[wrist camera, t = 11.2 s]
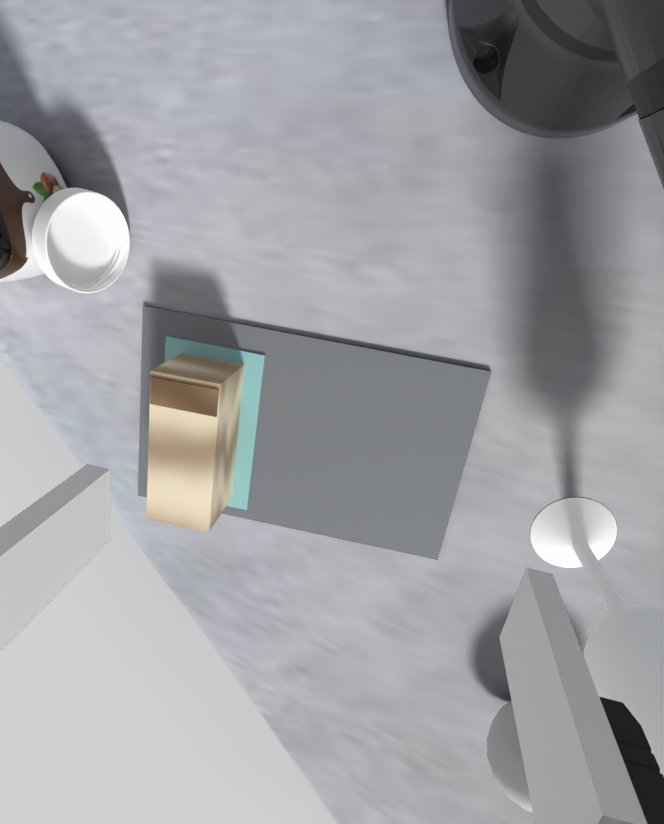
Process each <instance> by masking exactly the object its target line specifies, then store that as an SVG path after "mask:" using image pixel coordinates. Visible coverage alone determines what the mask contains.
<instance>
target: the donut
mask: <svg viewBox="0 0 664 824" xmlns="http://www.w3.org/2000/svg"><path fill="white" fill-rule="evenodd" d="M487 757H488V760H489V763H490V766H491V769H492V772H493V775H494V778H495V779H496V781H497V782H498V784H499V785H500V786H501V788H502V789H503V791H504V792H505V793H506V795H507V796H508V797H509V798H510V799H512V800H513V801H514V802H516V803H517V804H518V805H520V806H521V807H522V808H524V809H525V810H527V811H530V812H533V810H532V805H531V800H530V795H529V789H528V784H527V779H526V774H525V769H524V763H523V758H522V753H521V748H520V743H519V737H518V732H517V727H516V722H515V717H514V711H513V706H512V701H510V702H508V703H507V704H506V705H505V706H503V707H502V708H501V709H500V711H499V712H498V713H497V715H496V716H495V718H494V719H493V721H492V724H491V727H490V730H489V734H488V737H487Z"/></svg>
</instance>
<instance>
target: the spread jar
mask: <svg viewBox="0 0 664 824" xmlns="http://www.w3.org/2000/svg"><path fill="white" fill-rule="evenodd" d="M129 250H130V234H129V229H128V225H127V222H126V220H125V217H124V215H123V213H122V212H121V210H120V209H119V207H118V206H117V205H116V204H115V203H114V202H113V201H112V200H110V199H109V198H108V197H106V196H104V195H102V194H100V193H97V192H93V191H90V190H86V189H82V188H71V187H70V185H69V183H68V181H67V179H66V177H65V175H64V174H63V172H62V170H61V169H60V168H59V166H58V165H57V163H56V162H55V160H54V159H53V158H52V156H51V155H50V154H49V152H48V151H47V150H46V149H45V148H44V147H43V146H42V145H41V144H40V143H39V142H38V141H37V140H36V139H35V138H34V137H33V136H32V135H30V134H29V133H27V132H26V131H24V130H23V129H21V128H19V127H17V126H15V125H12V124H10V123H7V122H4V121H1V120H0V282H6V281H14V280H21V279H27V278H31V277H35V276H39V275H42V274H46V275H47V277H48V278H50V279H51V280H52V281H54V282H55V283H57V284H59V285H61V286H63V287H66V288H68V289H71V290H74V291H76V292H81V293H94V292H98V291H101V290H103V289H105V288H107V287H108V286H110V285H111V284H112V283H114V282H115V280H116V279H117V278H118V277H119V276H120V274H121V273H122V271H123V269H124V267H125V265H126V262H127V259H128V255H129Z"/></svg>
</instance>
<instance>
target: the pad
mask: <svg viewBox="0 0 664 824" xmlns="http://www.w3.org/2000/svg"><path fill="white" fill-rule="evenodd" d="M182 353H188V354H193V355H198V356H203V357H209V358H214V359H219V360H225V361H230V362H235V363H240V364H245V365H244V375H243V386H242V396H241V406H240V417H239V427H238V437H237V448H236V458H235V468H234V479H233V489H232V497H231V499H230V500H229V502H228V503H227V505H226V506H230V507H234V508H239V509H244V510H247V508H248V500H249V491H250V482H251V474H252V465H253V457H254V448H255V439H256V431H257V422H258V414H259V405H260V397H261V388H262V379H263V371H264V362H265V355H263V354H257V353H252V352H247V351H242V350H237V349H231V348H226V347H221V346H216V345H211V344H205V343H200V342H195V341H190V340H185V339H179V338H174V337H169V336H166V341H165V362H167V361H169V360H171V359H173V358H174V357H176V356H178V355H180V354H182Z"/></svg>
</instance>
